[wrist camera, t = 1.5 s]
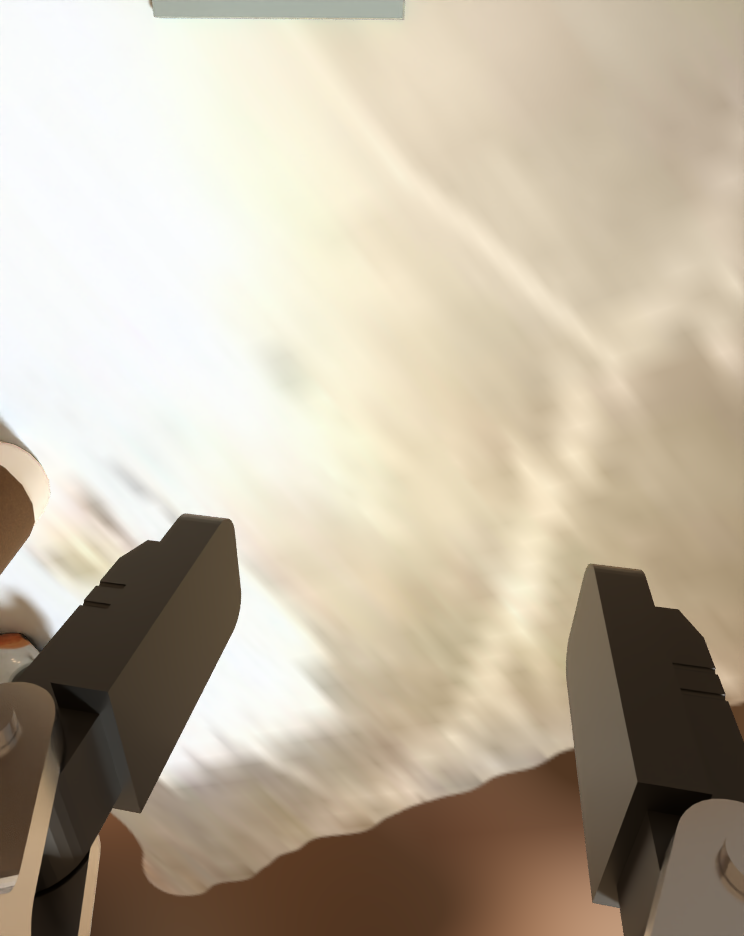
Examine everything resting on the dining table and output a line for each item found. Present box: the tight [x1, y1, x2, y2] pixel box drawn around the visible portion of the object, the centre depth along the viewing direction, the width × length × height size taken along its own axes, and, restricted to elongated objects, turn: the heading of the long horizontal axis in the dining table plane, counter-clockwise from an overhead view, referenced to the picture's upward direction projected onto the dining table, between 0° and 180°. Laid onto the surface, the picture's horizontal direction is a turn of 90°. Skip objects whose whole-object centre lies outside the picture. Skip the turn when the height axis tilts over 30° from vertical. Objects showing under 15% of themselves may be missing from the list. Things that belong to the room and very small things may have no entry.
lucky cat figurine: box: [0, 633, 40, 684], centre depth 54 cm, size 15×12×14 cm
